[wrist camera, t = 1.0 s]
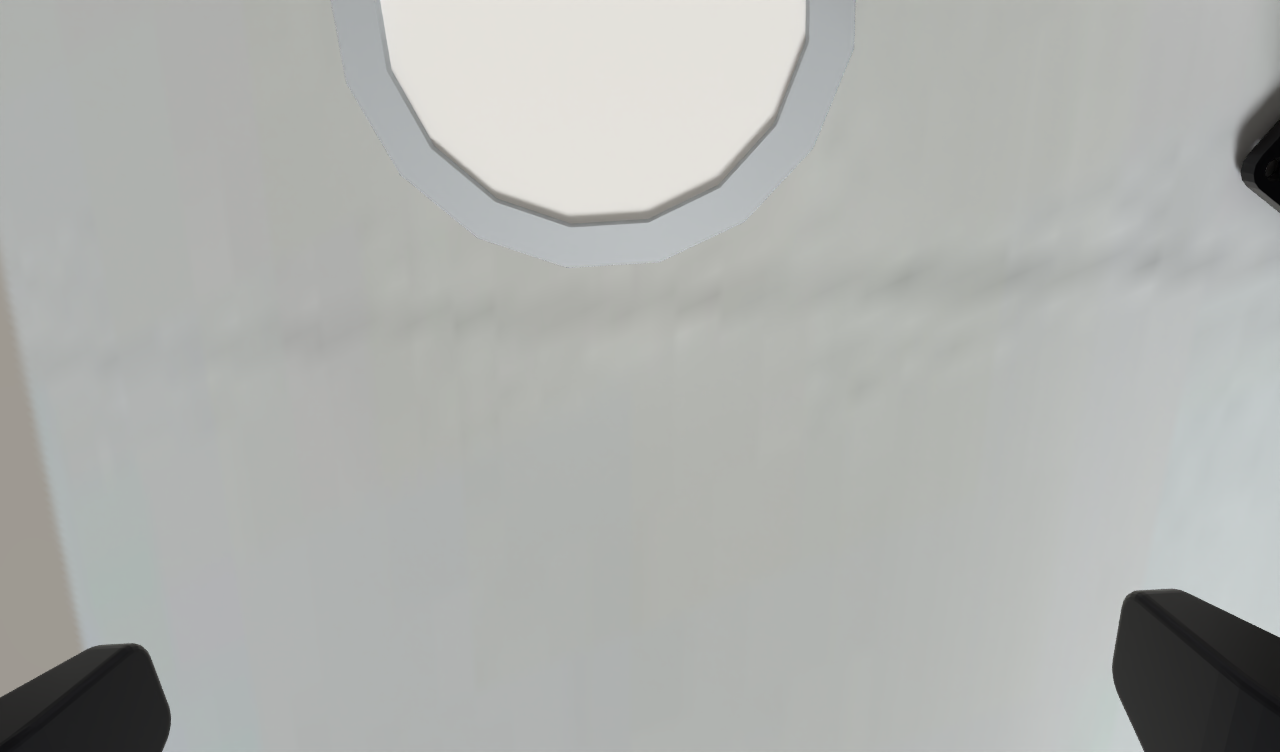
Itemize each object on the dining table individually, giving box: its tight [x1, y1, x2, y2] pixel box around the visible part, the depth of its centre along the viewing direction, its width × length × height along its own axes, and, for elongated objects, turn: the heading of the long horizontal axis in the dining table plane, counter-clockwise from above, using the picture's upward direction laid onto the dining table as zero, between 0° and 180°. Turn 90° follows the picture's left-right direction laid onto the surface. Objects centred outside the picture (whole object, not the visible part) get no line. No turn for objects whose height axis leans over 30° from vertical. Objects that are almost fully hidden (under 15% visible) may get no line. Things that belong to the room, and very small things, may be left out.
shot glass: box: [331, 0, 856, 268], centre depth 14 cm, size 7×7×7 cm
